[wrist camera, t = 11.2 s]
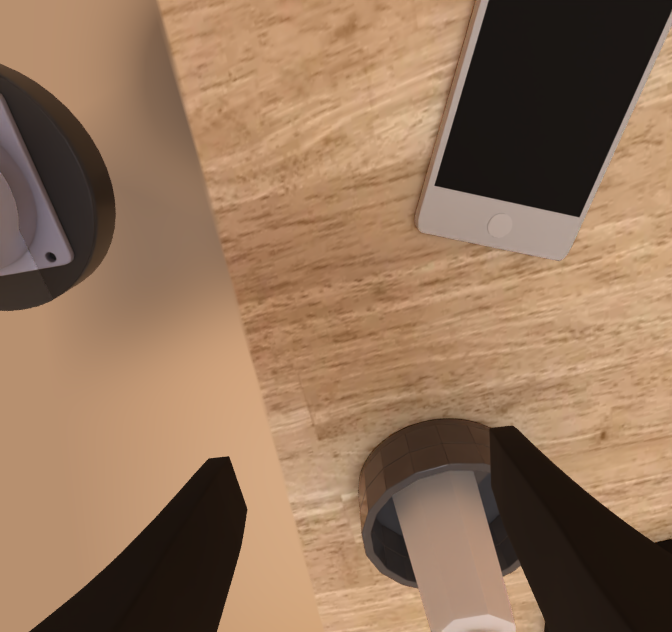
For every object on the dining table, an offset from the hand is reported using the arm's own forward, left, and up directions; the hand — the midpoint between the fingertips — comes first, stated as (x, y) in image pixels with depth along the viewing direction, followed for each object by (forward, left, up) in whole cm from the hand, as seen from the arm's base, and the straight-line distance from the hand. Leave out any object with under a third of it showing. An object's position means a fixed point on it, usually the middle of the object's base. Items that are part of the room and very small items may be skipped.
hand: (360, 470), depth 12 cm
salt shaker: (+3, -12, -10) cm, 16 cm away
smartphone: (+10, +10, -11) cm, 17 cm away
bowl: (+4, -12, -10) cm, 17 cm away
